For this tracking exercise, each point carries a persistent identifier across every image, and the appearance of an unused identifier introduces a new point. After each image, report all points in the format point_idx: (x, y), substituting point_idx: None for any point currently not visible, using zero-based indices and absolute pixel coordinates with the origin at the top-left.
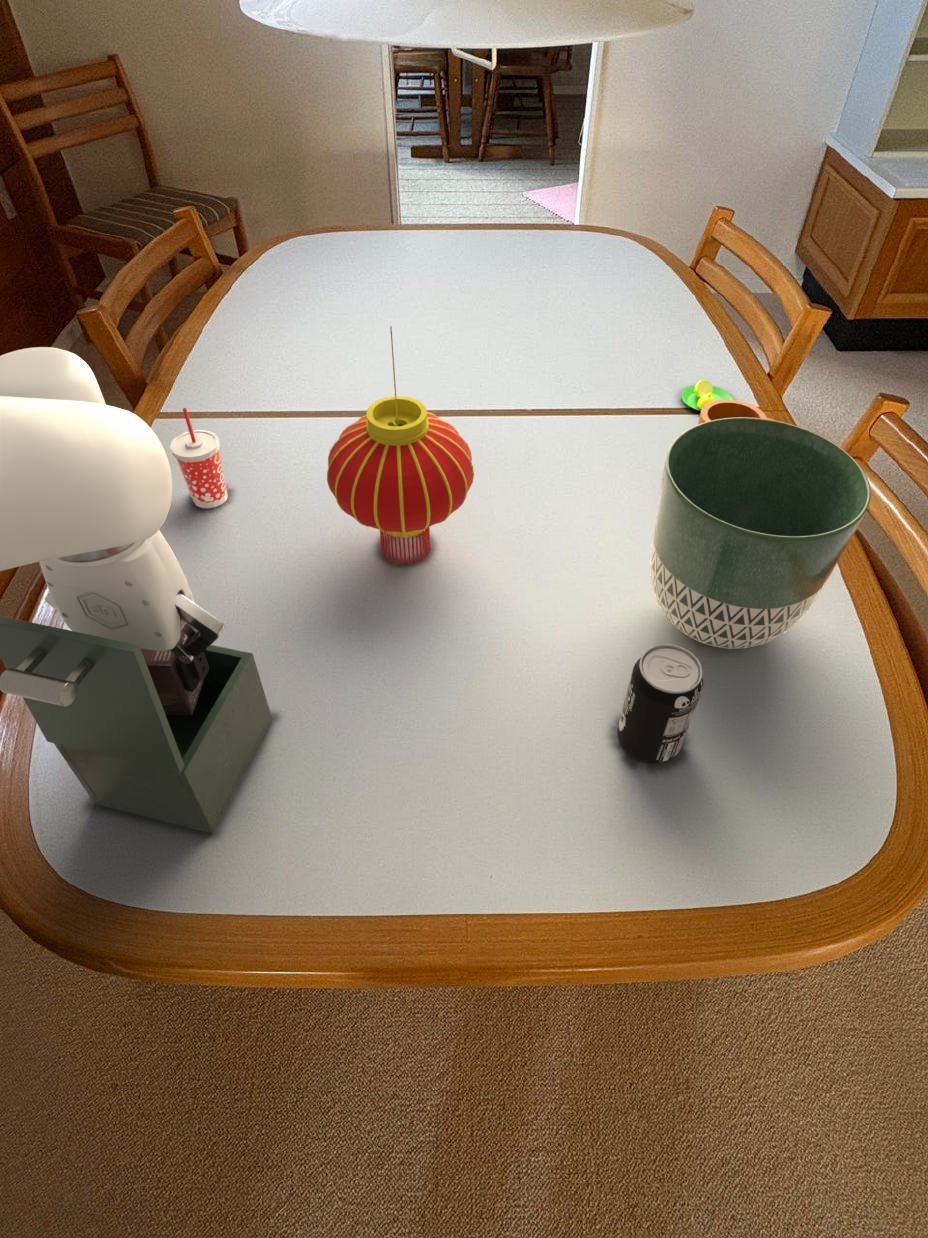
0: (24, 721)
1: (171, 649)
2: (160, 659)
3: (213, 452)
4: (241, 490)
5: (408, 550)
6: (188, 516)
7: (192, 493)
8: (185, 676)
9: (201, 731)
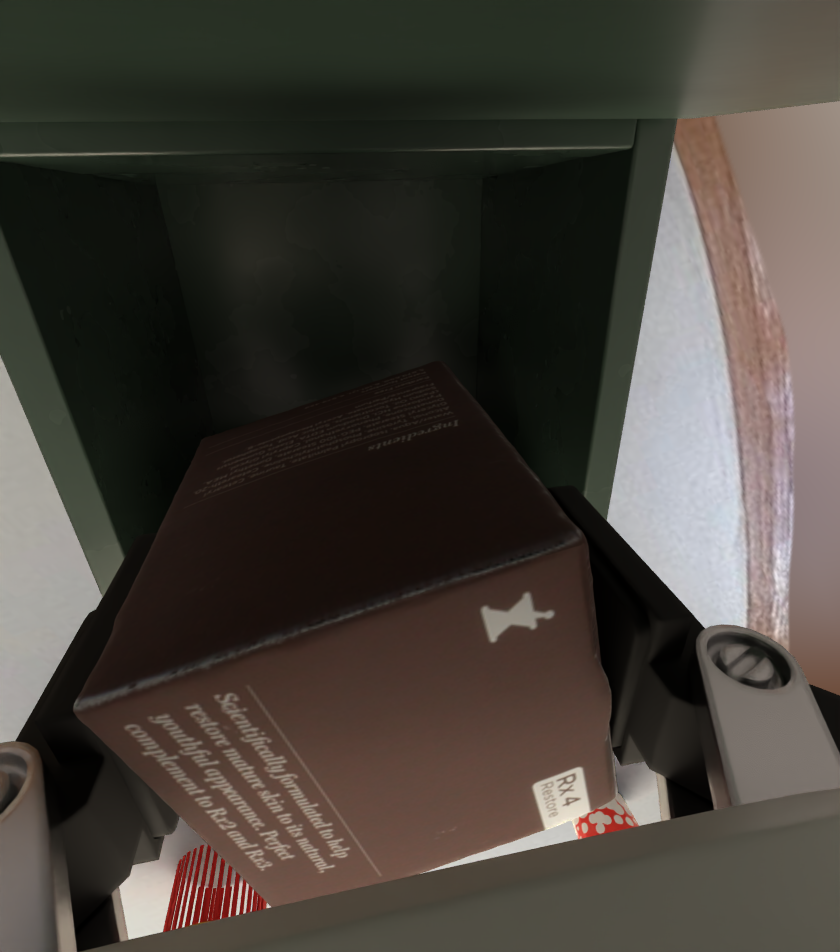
0: (749, 323)
1: (15, 890)
2: (192, 711)
3: None
4: (555, 833)
5: (187, 887)
6: (617, 773)
7: (626, 820)
8: (89, 622)
9: (38, 373)
